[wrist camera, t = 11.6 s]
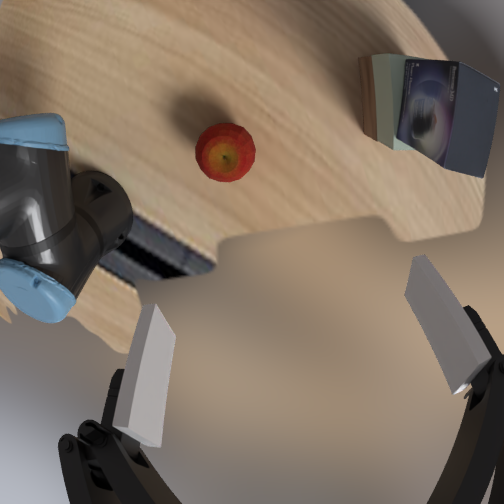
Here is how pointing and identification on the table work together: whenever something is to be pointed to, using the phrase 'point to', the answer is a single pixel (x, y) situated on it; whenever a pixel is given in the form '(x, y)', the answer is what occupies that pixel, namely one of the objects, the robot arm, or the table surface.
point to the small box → (449, 114)
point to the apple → (225, 152)
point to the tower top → (389, 97)
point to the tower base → (368, 97)
